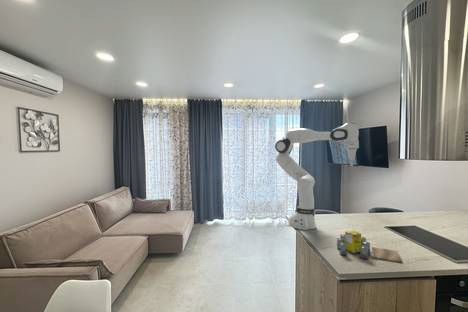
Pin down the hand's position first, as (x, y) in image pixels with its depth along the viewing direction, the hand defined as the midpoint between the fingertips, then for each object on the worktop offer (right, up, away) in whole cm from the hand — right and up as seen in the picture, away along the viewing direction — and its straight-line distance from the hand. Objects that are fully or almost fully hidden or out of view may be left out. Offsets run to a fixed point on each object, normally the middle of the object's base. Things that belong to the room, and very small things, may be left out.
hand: (351, 165), depth 158 cm
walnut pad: (+1, -48, -34) cm, 58 cm away
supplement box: (-14, -48, -29) cm, 57 cm away
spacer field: (-14, -48, -29) cm, 57 cm away
